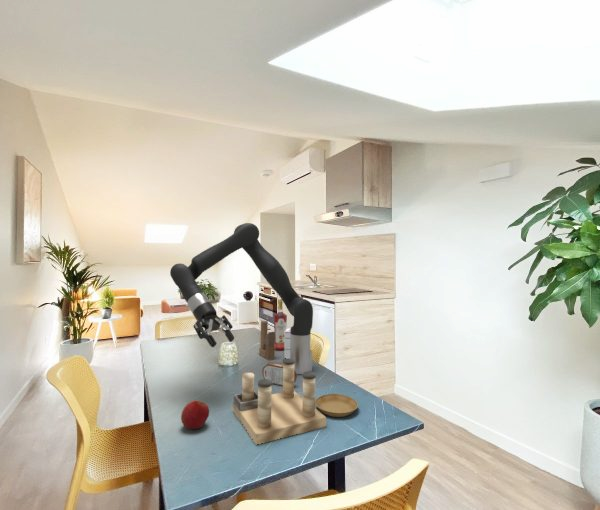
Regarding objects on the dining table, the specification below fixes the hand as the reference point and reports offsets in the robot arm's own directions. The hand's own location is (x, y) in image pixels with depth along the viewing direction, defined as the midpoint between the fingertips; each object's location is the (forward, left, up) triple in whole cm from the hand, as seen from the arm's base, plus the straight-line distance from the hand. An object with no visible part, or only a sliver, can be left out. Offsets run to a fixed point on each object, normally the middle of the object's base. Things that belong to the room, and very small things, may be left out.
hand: (223, 343), depth 119 cm
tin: (-25, -8, -22) cm, 35 cm away
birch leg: (-6, +10, -19) cm, 22 cm away
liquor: (-46, -54, -22) cm, 75 cm away
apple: (+12, +12, -22) cm, 28 cm away
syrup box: (-45, -38, -22) cm, 63 cm away
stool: (-13, +18, -22) cm, 31 cm away
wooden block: (-34, -44, -22) cm, 60 cm away
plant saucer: (-34, +21, -22) cm, 46 cm away
